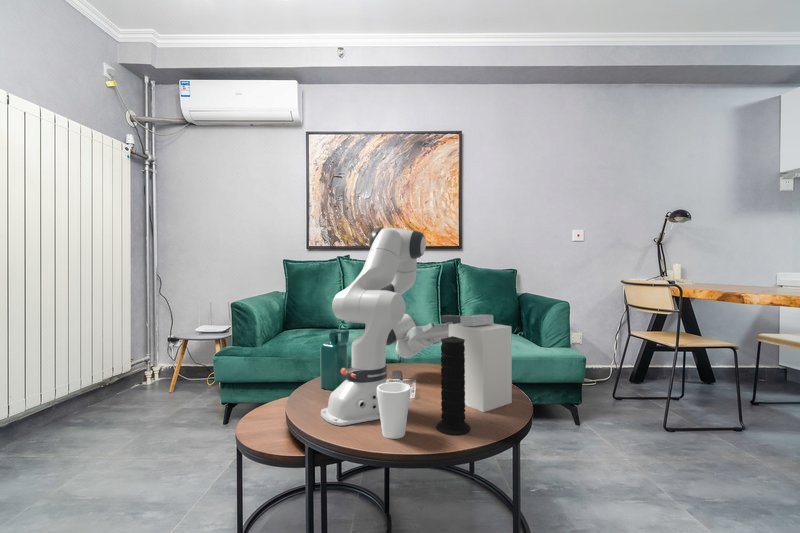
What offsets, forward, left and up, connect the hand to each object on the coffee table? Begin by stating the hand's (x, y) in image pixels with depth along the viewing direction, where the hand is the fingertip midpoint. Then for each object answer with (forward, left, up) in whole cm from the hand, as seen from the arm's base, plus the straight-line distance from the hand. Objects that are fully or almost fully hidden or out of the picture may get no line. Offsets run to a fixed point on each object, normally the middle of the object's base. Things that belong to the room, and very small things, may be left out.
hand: (442, 323), depth 151 cm
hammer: (0, -11, +1) cm, 11 cm away
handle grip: (-23, -30, -25) cm, 45 cm away
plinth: (0, -19, -24) cm, 31 cm away
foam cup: (-39, -23, -25) cm, 51 cm away
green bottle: (-33, +25, -25) cm, 48 cm away
